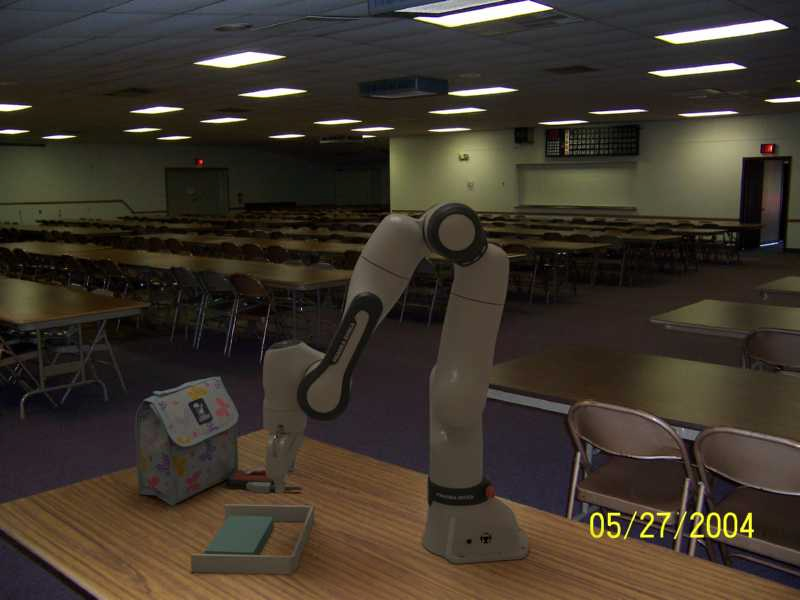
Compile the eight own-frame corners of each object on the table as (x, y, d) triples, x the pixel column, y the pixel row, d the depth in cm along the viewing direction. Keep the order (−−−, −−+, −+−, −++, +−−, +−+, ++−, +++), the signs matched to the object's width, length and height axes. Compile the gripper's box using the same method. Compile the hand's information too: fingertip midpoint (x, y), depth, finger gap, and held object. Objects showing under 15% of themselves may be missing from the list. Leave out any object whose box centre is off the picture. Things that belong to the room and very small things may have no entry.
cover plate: (273, 529, 159) (273, 516, 159) (253, 566, 143) (253, 552, 143) (229, 528, 160) (229, 515, 159) (205, 564, 144) (204, 550, 144)
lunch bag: (178, 511, 167) (172, 401, 163) (131, 495, 176) (125, 390, 172) (247, 478, 186) (243, 379, 182) (201, 465, 195) (197, 371, 191)
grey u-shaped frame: (314, 520, 162) (313, 505, 162) (294, 574, 139) (293, 557, 139) (225, 518, 163) (225, 504, 163) (191, 571, 140) (190, 555, 140)
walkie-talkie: (221, 493, 178) (300, 496, 176) (220, 476, 178) (300, 479, 176) (232, 479, 187) (308, 481, 185) (232, 463, 186) (308, 465, 184)
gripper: (290, 435, 137) (290, 504, 139) (308, 404, 157) (308, 464, 159) (257, 434, 137) (258, 503, 139) (280, 403, 157) (280, 463, 159)
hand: (285, 482), depth 149 cm, fingers open, 8 cm apart
